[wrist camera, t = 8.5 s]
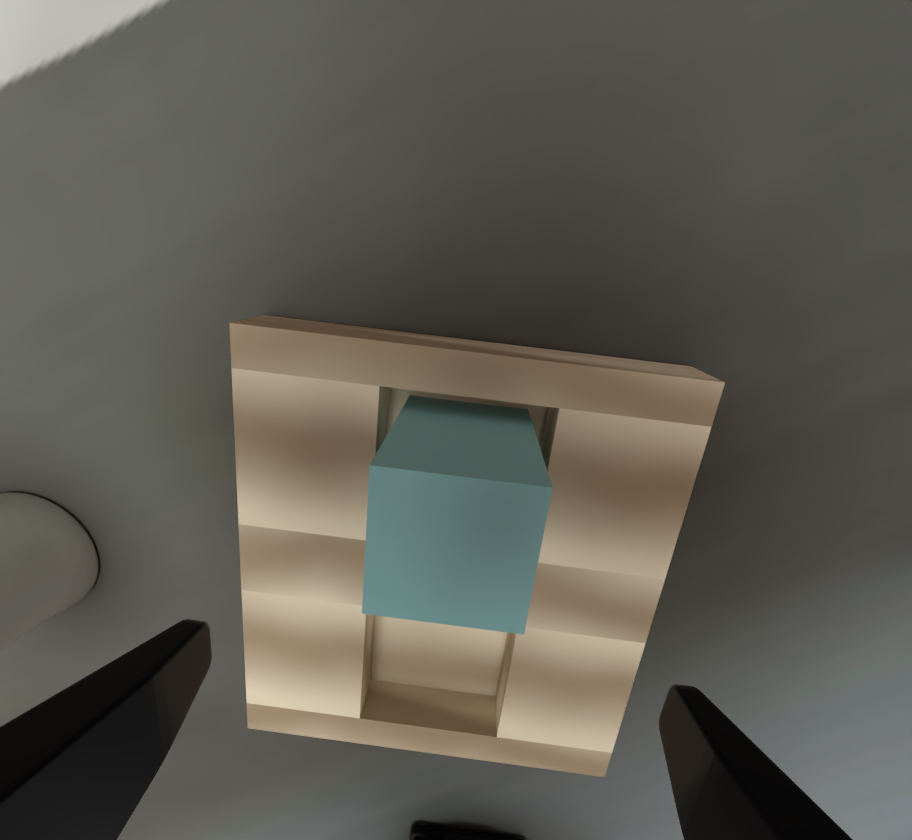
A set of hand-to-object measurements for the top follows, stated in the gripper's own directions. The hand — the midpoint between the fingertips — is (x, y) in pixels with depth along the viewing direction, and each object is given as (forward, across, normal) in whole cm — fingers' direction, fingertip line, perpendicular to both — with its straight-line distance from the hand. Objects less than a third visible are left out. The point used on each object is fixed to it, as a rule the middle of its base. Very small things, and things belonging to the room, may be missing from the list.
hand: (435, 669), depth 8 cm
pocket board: (+11, 0, +5) cm, 12 cm away
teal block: (+10, 0, 0) cm, 10 cm away
